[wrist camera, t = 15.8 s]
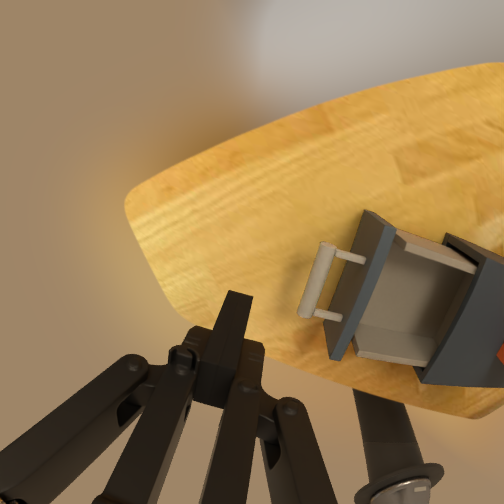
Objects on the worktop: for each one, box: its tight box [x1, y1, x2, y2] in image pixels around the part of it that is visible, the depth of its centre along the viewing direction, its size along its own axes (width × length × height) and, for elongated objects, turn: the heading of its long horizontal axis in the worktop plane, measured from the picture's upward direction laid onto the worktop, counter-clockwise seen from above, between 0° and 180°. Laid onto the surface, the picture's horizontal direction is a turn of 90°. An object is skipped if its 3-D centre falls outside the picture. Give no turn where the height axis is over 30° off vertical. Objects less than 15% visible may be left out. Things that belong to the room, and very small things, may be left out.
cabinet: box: [412, 233, 504, 388], centre depth 27 cm, size 17×15×9 cm
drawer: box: [297, 210, 479, 367], centre depth 27 cm, size 20×14×7 cm
